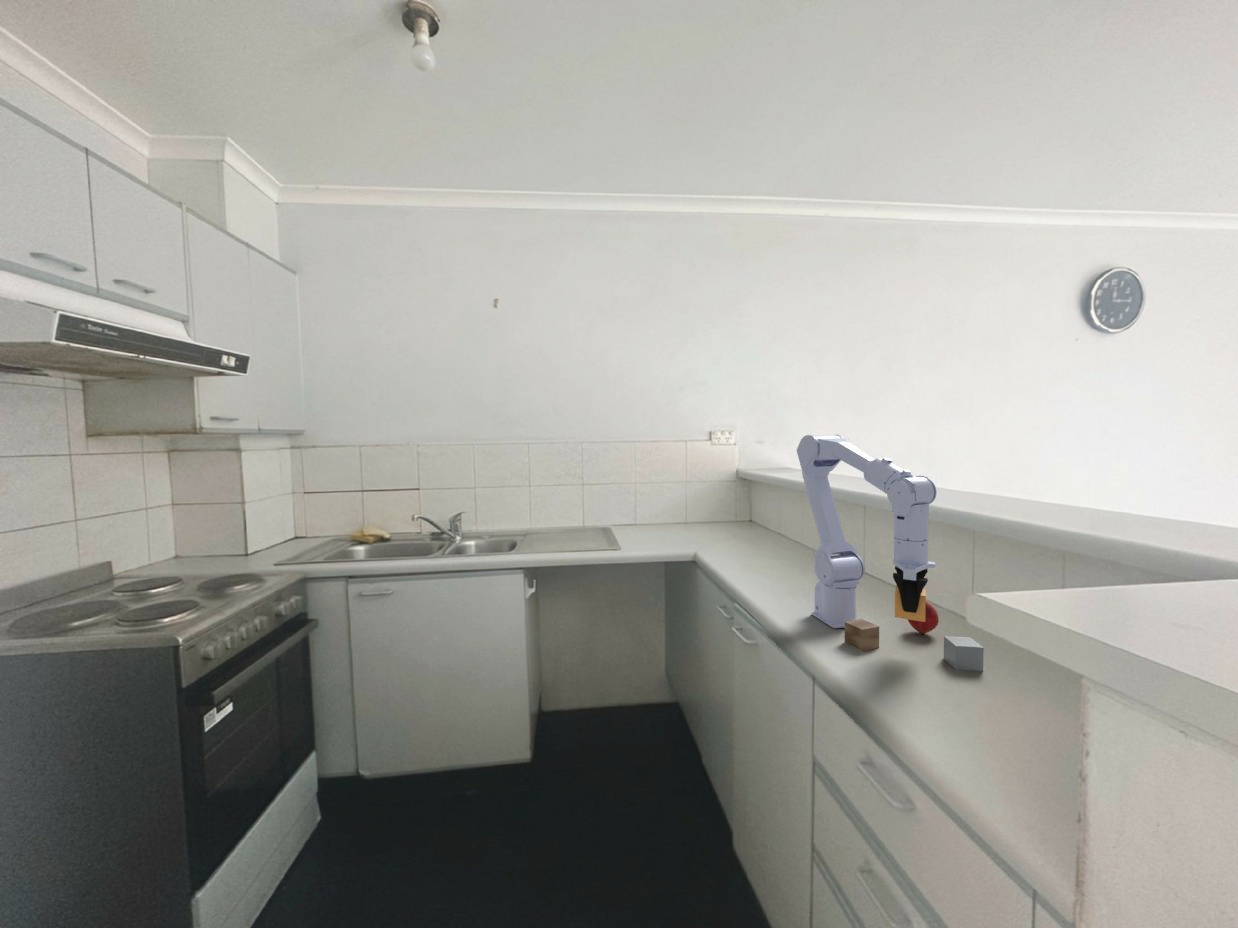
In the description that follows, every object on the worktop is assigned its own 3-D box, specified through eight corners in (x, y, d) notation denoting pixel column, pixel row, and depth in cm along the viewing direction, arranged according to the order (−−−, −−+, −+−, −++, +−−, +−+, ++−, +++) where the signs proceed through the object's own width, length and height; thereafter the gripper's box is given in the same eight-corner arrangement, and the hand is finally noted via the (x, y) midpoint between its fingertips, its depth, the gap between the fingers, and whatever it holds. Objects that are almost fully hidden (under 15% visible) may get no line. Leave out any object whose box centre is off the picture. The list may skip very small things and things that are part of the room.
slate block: (943, 658, 92) (943, 635, 91) (969, 660, 91) (970, 637, 90) (955, 669, 87) (955, 645, 87) (983, 671, 86) (983, 647, 86)
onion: (943, 640, 100) (944, 602, 99) (913, 638, 101) (913, 601, 100) (931, 629, 105) (931, 593, 105) (902, 627, 106) (902, 592, 106)
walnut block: (844, 642, 99) (844, 621, 99) (860, 639, 101) (861, 618, 101) (862, 651, 95) (862, 629, 95) (879, 647, 97) (879, 626, 97)
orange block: (896, 609, 97) (896, 584, 96) (925, 613, 94) (925, 588, 94) (894, 617, 92) (895, 591, 92) (925, 621, 90) (925, 595, 89)
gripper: (936, 548, 84) (935, 623, 85) (934, 533, 96) (934, 599, 97) (890, 543, 88) (890, 615, 89) (894, 530, 100) (894, 594, 101)
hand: (910, 607), depth 93 cm, fingers closed on orange block, 5 cm apart
